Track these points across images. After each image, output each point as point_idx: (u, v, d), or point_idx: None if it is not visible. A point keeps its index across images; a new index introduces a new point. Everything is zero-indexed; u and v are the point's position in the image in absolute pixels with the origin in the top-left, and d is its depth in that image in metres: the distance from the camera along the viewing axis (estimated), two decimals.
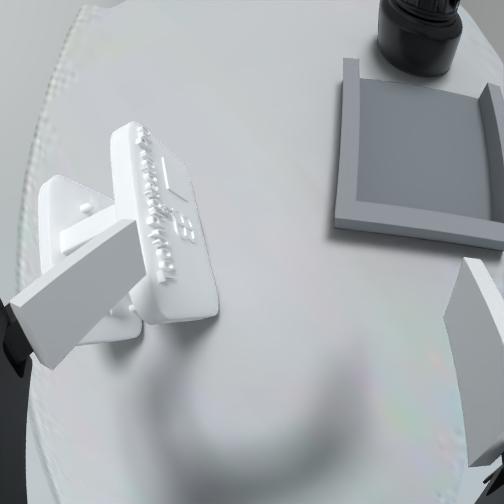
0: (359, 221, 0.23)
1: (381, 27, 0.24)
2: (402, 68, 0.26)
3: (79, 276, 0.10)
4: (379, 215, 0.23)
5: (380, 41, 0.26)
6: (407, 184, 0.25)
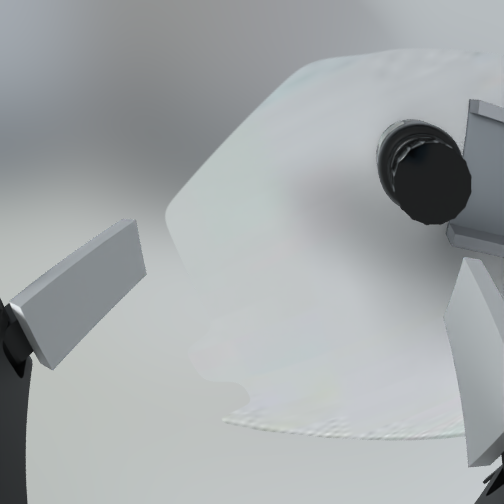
0: None
1: None
2: None
3: (79, 276, 0.10)
4: None
5: None
6: None
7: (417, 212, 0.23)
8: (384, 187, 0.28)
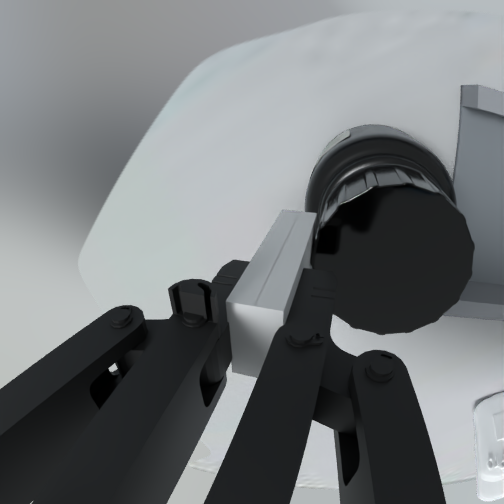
0: None
1: None
2: None
3: None
4: None
5: None
6: None
7: (362, 317, 0.13)
8: None
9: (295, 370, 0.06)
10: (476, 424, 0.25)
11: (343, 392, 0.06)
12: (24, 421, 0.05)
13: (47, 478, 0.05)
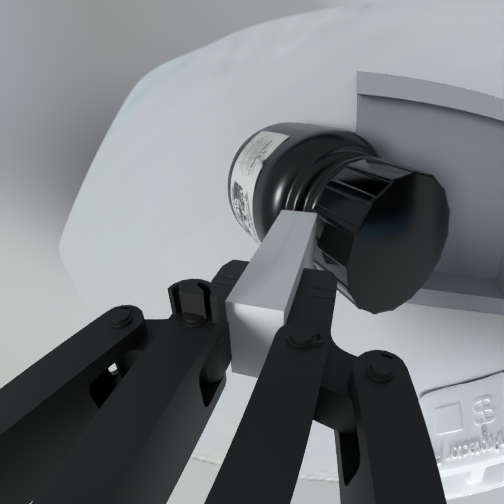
0: None
1: None
2: None
3: None
4: None
5: None
6: (481, 226, 0.21)
7: (382, 300, 0.14)
8: None
9: (295, 370, 0.06)
10: None
11: (344, 392, 0.06)
12: (24, 421, 0.05)
13: (47, 478, 0.05)
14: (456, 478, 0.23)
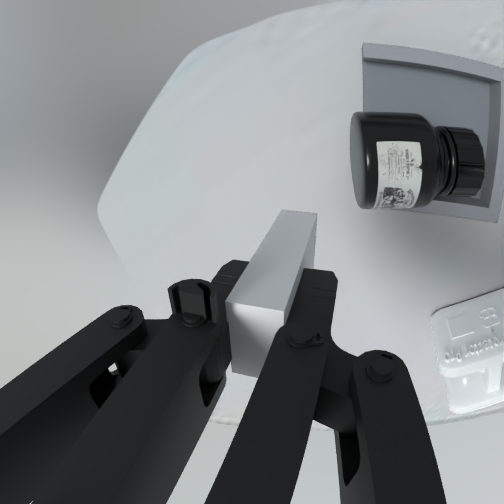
0: None
1: None
2: None
3: None
4: (499, 192, 0.25)
5: None
6: None
7: None
8: None
9: (296, 369, 0.06)
10: (432, 328, 0.34)
11: (344, 392, 0.06)
12: (24, 421, 0.05)
13: (47, 478, 0.05)
14: (476, 389, 0.30)
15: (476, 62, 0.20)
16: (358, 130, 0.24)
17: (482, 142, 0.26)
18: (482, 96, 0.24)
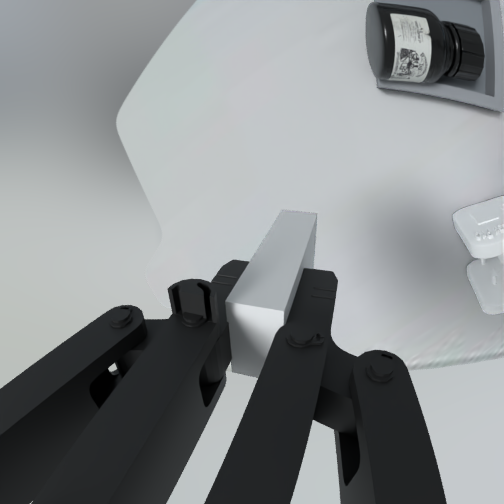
0: None
1: None
2: None
3: None
4: (501, 84, 0.24)
5: None
6: None
7: None
8: (438, 78, 0.25)
9: (295, 369, 0.06)
10: (456, 221, 0.33)
11: (344, 392, 0.06)
12: (24, 421, 0.05)
13: (47, 478, 0.05)
14: None
15: None
16: (374, 9, 0.22)
17: None
18: (476, 12, 0.22)
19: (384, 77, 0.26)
